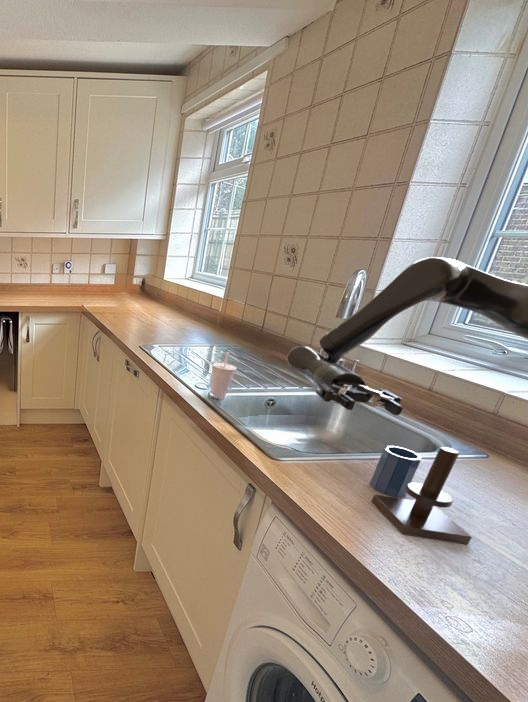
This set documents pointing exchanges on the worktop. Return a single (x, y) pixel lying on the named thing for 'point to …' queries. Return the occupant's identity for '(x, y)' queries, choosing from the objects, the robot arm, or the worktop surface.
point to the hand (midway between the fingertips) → (375, 408)
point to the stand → (426, 504)
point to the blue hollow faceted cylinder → (395, 470)
